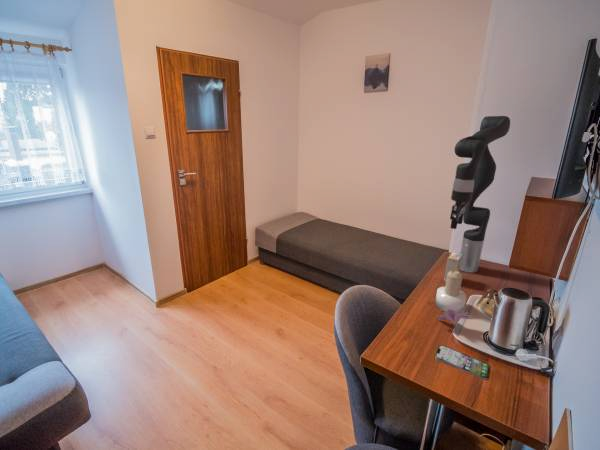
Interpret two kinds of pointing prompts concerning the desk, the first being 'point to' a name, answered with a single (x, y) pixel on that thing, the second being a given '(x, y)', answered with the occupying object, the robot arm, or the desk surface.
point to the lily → (453, 316)
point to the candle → (453, 283)
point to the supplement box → (453, 263)
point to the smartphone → (462, 362)
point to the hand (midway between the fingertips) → (456, 226)
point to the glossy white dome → (450, 301)
